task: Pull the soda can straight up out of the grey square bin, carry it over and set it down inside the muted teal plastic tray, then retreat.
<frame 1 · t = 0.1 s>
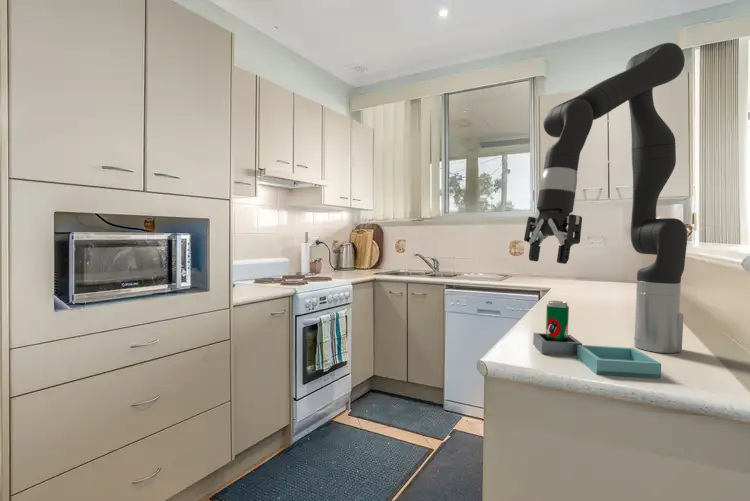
hand: (546, 262, 92), 22 cm above the worktop, tool pointing down, fingers open, 8 cm apart
soda can: (556, 350, 102), resting in grey square bin
grey square bin: (556, 349, 102), on the worktop
tray: (615, 367, 89), on the worktop
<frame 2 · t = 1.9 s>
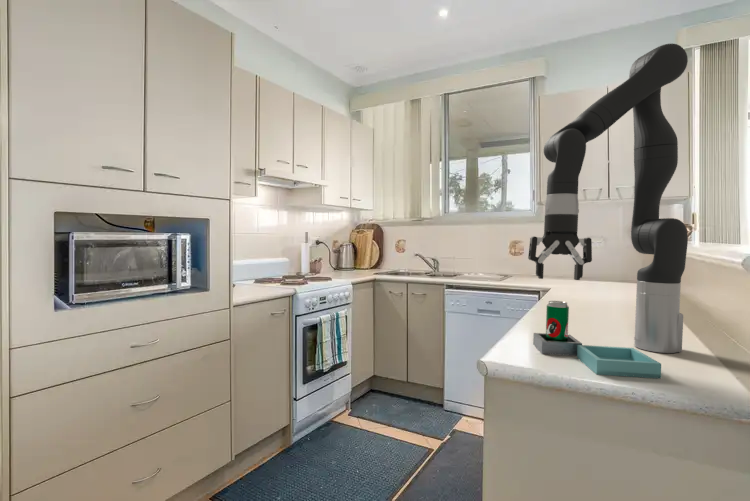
hand: (558, 279, 102), 18 cm above the worktop, tool pointing down, fingers open, 8 cm apart
nothing on the worktop moved.
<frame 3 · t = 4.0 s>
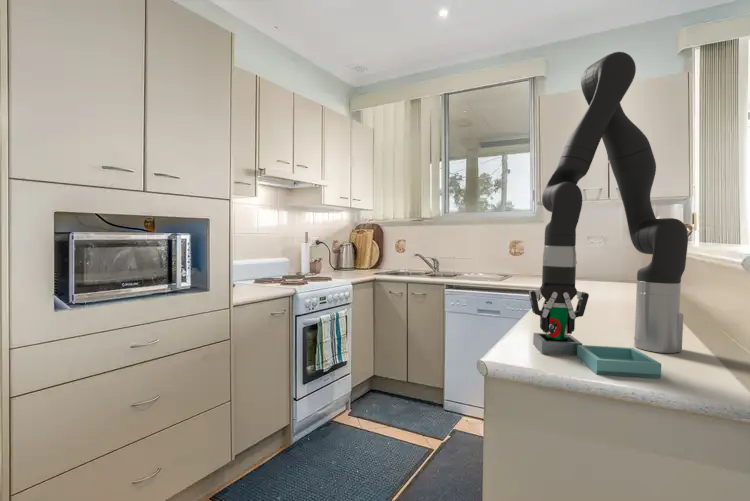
hand: (556, 332, 102), 4 cm above the worktop, tool pointing down, fingers closed on soda can, 5 cm apart
soda can: (556, 350, 102), resting in grey square bin, touching gripper
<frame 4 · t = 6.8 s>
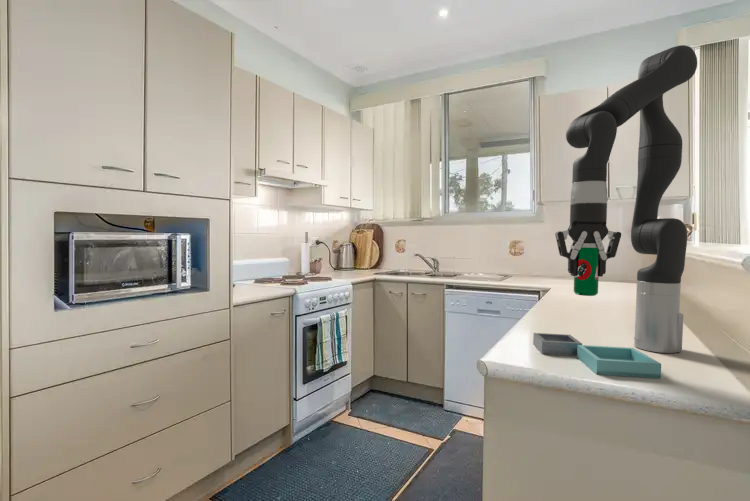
hand: (586, 275, 95), 19 cm above the worktop, tool pointing down, fingers closed on soda can, 5 cm apart
soda can: (585, 295, 96), point 15 cm above the worktop, touching gripper
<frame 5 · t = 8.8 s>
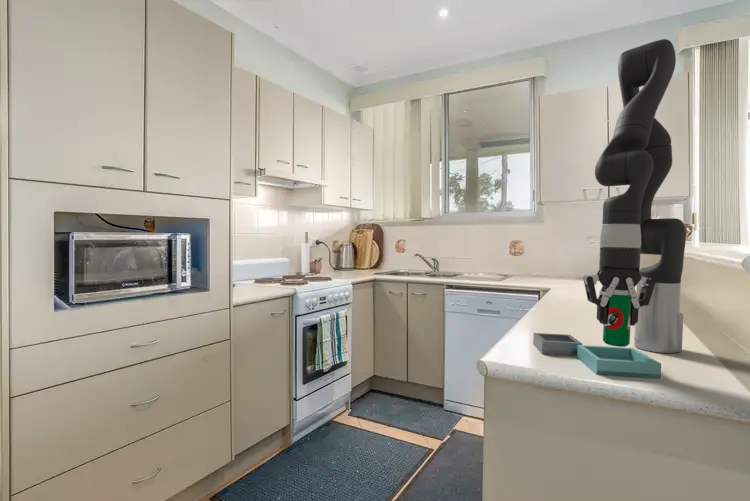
hand: (616, 323, 89), 9 cm above the worktop, tool pointing down, fingers closed on soda can, 5 cm apart
soda can: (615, 345, 89), point 5 cm above the worktop, touching gripper
when the fingers open (7 cm above the worktop, at t = 10.0 s): soda can drops 2 cm, resting on tray.
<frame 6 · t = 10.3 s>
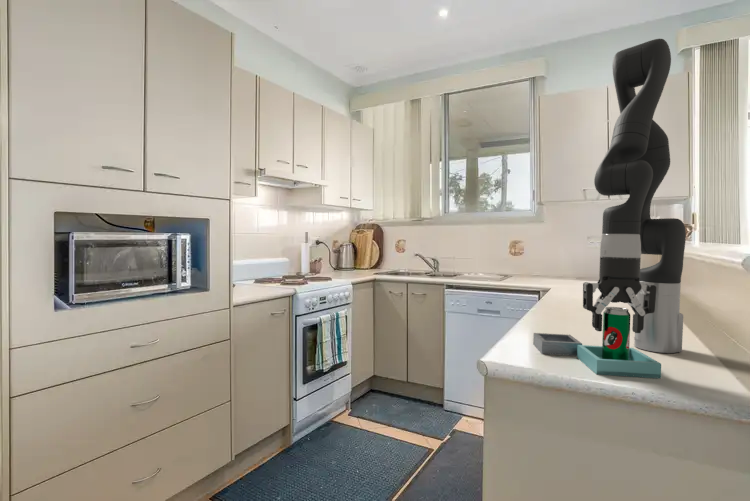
hand: (617, 331, 89), 8 cm above the worktop, tool pointing down, fingers open, 7 cm apart
soda can: (615, 364, 89), point 1 cm above the worktop, touching tray
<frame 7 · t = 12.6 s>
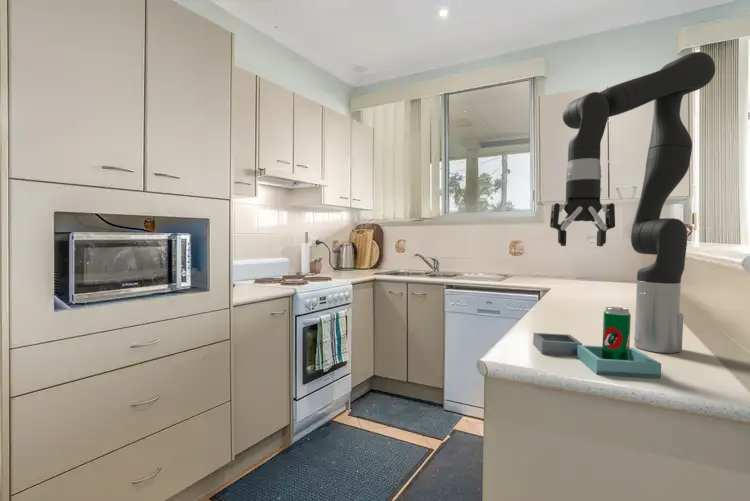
hand: (581, 246, 101), 26 cm above the worktop, tool pointing down, fingers open, 8 cm apart
nothing on the worktop moved.
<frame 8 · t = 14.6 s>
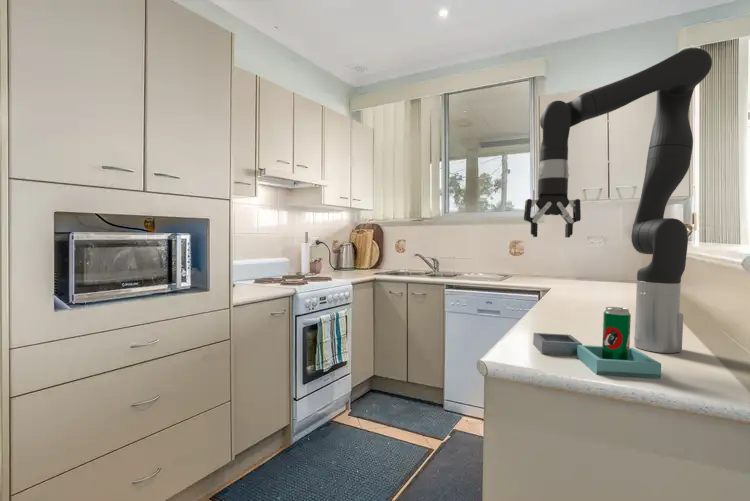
hand: (551, 237, 113), 28 cm above the worktop, tool pointing down, fingers open, 8 cm apart
nothing on the worktop moved.
at the end: soda can inside the target area on the tray (0.1 cm from its centre), point 0.6 cm above the tray's base; soda can tilted 0°; the gripper is holding nothing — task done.
